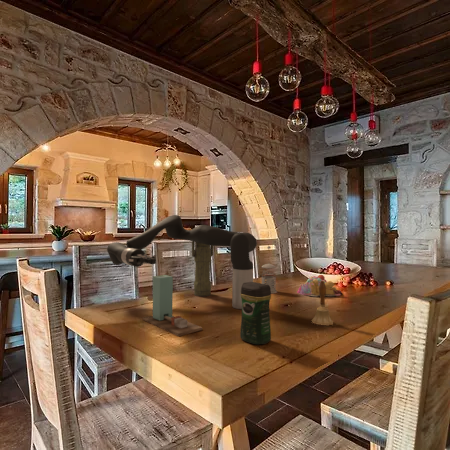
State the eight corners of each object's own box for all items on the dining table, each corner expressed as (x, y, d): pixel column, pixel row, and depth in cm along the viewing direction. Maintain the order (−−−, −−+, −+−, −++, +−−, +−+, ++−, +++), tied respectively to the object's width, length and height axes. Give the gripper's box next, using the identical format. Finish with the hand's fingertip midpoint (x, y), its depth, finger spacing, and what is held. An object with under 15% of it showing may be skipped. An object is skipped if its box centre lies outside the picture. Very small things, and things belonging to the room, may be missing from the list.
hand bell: (330, 327, 118) (331, 283, 117) (308, 323, 122) (308, 281, 122) (336, 321, 125) (336, 280, 125) (314, 318, 129) (315, 278, 129)
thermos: (216, 294, 170) (217, 227, 170) (197, 297, 163) (198, 228, 162) (207, 291, 177) (207, 227, 177) (188, 294, 170) (188, 227, 170)
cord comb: (142, 319, 125) (142, 310, 125) (165, 315, 132) (165, 306, 132) (178, 336, 107) (178, 325, 107) (202, 329, 114) (202, 319, 114)
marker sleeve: (152, 317, 124) (152, 276, 124) (165, 315, 128) (165, 274, 127) (159, 320, 120) (159, 278, 120) (172, 317, 124) (172, 276, 124)
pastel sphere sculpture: (350, 296, 169) (351, 279, 169) (311, 299, 162) (311, 281, 162) (323, 287, 193) (323, 272, 193) (287, 289, 186) (287, 273, 186)
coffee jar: (275, 341, 103) (275, 283, 103) (258, 347, 98) (258, 286, 98) (252, 333, 111) (253, 279, 110) (236, 339, 105) (236, 281, 105)
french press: (280, 291, 180) (280, 246, 180) (271, 294, 170) (272, 247, 170) (264, 289, 186) (264, 245, 185) (255, 292, 176) (255, 246, 176)
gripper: (146, 264, 146) (168, 269, 133) (118, 266, 137) (138, 272, 124) (147, 247, 146) (168, 251, 133) (118, 249, 137) (138, 253, 124)
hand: (153, 261), depth 128 cm, fingers closed
